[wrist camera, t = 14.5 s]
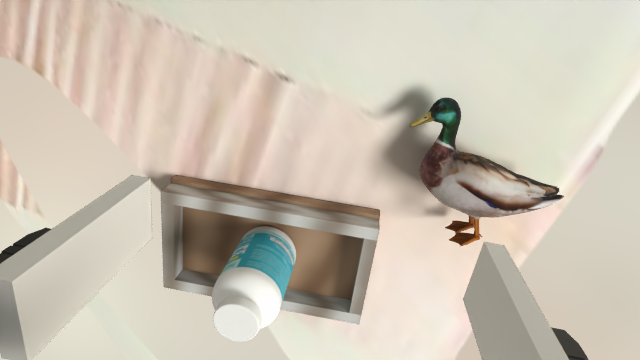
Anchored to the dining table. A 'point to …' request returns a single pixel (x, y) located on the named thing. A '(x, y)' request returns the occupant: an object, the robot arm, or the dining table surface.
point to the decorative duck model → (475, 178)
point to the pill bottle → (253, 283)
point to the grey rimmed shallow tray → (281, 213)
